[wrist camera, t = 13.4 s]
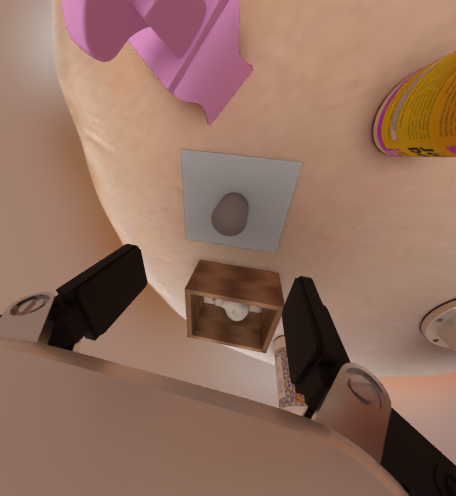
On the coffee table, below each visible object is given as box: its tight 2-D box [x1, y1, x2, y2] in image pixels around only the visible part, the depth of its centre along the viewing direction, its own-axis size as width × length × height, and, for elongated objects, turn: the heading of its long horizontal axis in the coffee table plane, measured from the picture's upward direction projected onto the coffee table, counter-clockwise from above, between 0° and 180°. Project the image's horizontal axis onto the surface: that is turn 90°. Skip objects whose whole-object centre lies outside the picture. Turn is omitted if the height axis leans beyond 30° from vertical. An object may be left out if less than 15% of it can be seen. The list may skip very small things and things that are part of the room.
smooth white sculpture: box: [212, 298, 249, 321], centre depth 30 cm, size 4×8×5 cm
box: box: [185, 260, 284, 353], centre depth 28 cm, size 14×12×7 cm
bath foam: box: [274, 336, 307, 416], centre depth 28 cm, size 7×7×20 cm
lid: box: [181, 149, 303, 253], centre depth 20 cm, size 14×12×6 cm
